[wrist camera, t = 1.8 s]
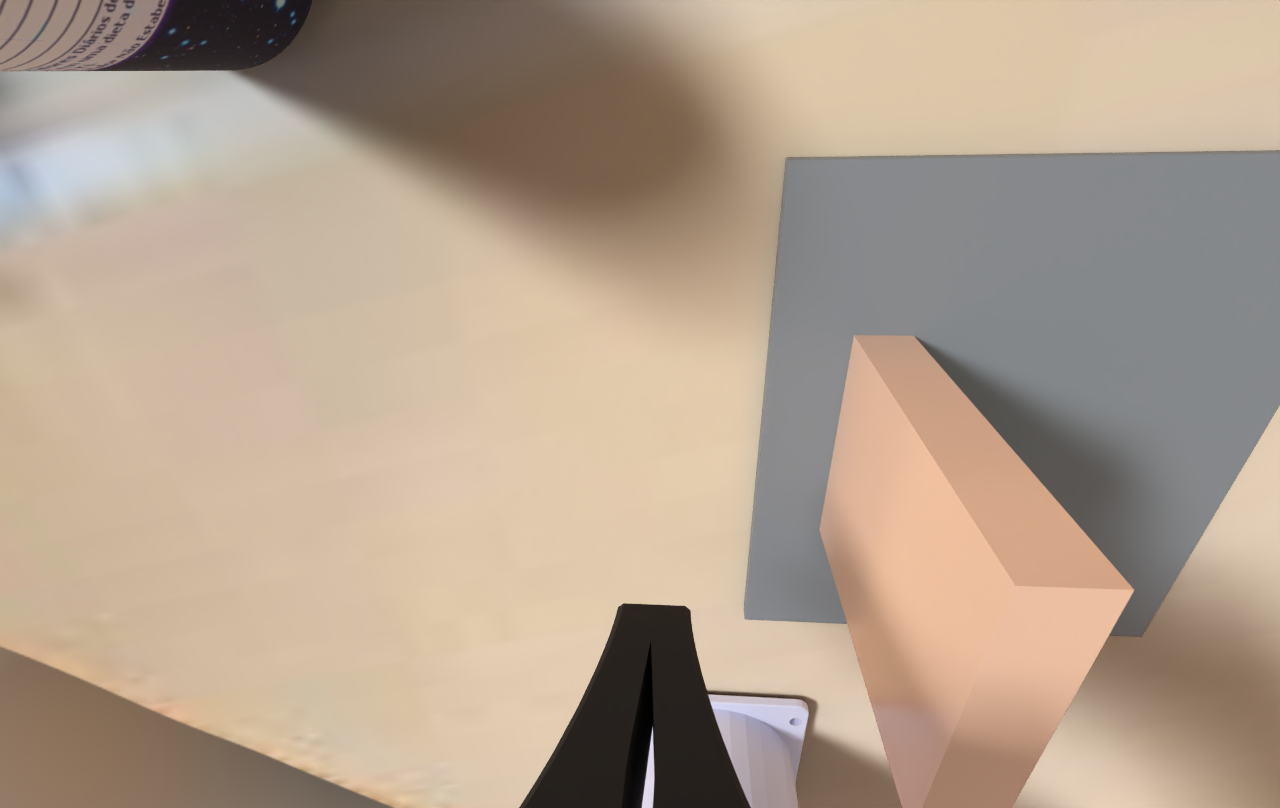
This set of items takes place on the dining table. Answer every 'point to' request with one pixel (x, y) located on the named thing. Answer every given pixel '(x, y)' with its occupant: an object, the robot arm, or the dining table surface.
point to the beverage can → (145, 34)
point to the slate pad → (1030, 339)
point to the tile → (955, 582)
